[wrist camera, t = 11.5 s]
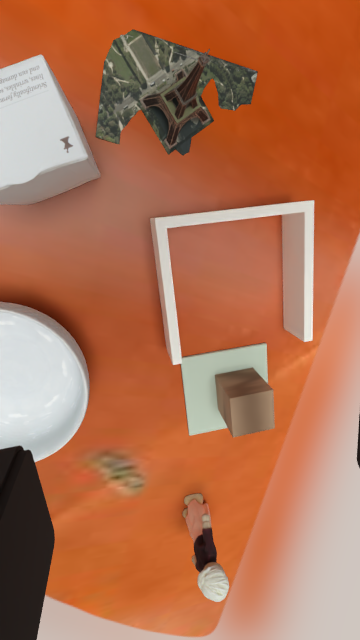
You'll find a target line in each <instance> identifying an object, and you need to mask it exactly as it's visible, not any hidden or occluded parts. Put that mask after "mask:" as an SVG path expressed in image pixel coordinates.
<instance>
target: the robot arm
mask: <svg viewBox="0 0 360 640" xmlns="http://www.w3.org/2000/svg"><path fill="white" fill-rule="evenodd" d="M357 461H358V465H359V467H360V416H359V434H358V449H357ZM54 540H55V537H54V529H53V525H52V521H51V518H50V514H49V511H48V507H47V504H46V500H45V497H44V493H43V490H42V486H41V483H40V480H39V476H38V473H37V469H36V466H35V462H34V459H33V455H32V452H31V451H30V450H24V449H23V447H22V446H20V445H19V446H14V447H9V448H4V449H0V640H36V639H37V634H38V628H39V623H40V617H41V613H42V607H43V602H44V597H45V591H46V586H47V581H48V575H49V570H50V565H51V559H52V554H53V549H54Z"/></svg>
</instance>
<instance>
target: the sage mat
mask: <svg viewBox="0 0 360 640" xmlns="http://www.w3.org/2000/svg"><path fill="white" fill-rule="evenodd" d="M252 367H253V368H254V369H255V370H256V372H257V373H258V374H259V375H260V376H261V377H262V378H263V379H264V380H265V381H266V382H267V384H268V373H267V344H266V343H260V344H254V345H249V346H243V347H237V348H231V349H226V350H220V351H214V352H208V353H202V354H197V355H191V356H185V357H182V363H181V370H182V379H183V387H184V396H185V405H186V413H187V422H188V430H189V436H190V435H195V434H200V433H205V432H209V431H214V430H219V429H224V428H228V427H227V425H226V423H225V421H224V420H223V418H222V416H221V414H220V412H219V410H218V404H217V393H216V383H215V375H216V374H221V373H226V372H231V371H236V370H242V369H247V368H252Z"/></svg>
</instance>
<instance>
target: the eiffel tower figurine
mask: <svg viewBox="0 0 360 640" xmlns="http://www.w3.org/2000/svg"><path fill="white" fill-rule="evenodd" d="M209 51H210V49H209V50H208V52H209ZM208 52H207V53H206V52H205V53H201V52H199V51H196V50H193V49H190V48H187V47H184V46H181V45H178V44H175V43H172V42H169V41H166V40H163V39H160V38H157V37H154V36H151V35H148V34H145V33H142V32H139V31H136V30H131V31H130V32H128V33H127V34H126V35H120V38H117V39H115V40H113V43H112V46H111V48H110V50H109V52H108V54H107V57H106V60H105V61H104V69H103V78H102V86H101V95H100V104H99V113H98V122H97V130H96V137H98V138H101V139H104V140H107V141H110V142H113V143H116V144H119V143H120V133H121V131H122V129H123V128H124V127H125V126H126V125H127V124H128V122H129V121H130V119H131V118H132V117H133V116H134V115H135V114H136V113H137V112H138V110H142V112H143V113H144V115H145V117H146V118H147V120H148V122H149V123H150V125H151V127H152V128H153V130H154V131H155V133H156V135H157V136H158V138H159V140H160V141H161V143H162V145H163V146H164V148H165V150H166V151H167V153H168V154H170V153H171V152H173V151H174V150H175V149H176V150H177V151H178V152H179V153H180V154H182V155H184V154H186V153H188V152H189V150H190V144H191V137H193V136H194V135H196V134H197V133H198V132H200V131H201V130H202V129H204V128H205V127H206V126H208V125H209V124H210V123H212V122H213V121H214V120H213V118H212V116H211V114H210V112H209V111H208V109H207V107H206V105H205V103H204V102H203V100H202V98H201V94H202V92H203V89H204V88H205V86H206V85H207V84H208V82H209V81H210V79H212V78H213V79H214V81H215V84H216V88H217V91H218V99H219V106H220V108H222V109H229V110H236V109H237V108H238V107H239V106H240V105H242V104H251V100H252V96H253V91H254V86H255V82H256V77H257V73H258V72H257V71H255V70H252V69H249V68H246V67H243V66H240V65H237V64H234V63H231V62H228V61H225V60H222V59H219V58H216V57H213V56H210V55H207V54H208Z"/></svg>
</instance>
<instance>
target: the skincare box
mask: <svg viewBox="0 0 360 640" xmlns="http://www.w3.org/2000/svg"><path fill="white" fill-rule="evenodd" d="M100 177H101V175H100V172H99V170H98V167H97V165H96V162H95V160H94V157H93V155H92V152H91V150H90V147H89V145H88V142H87V140H86V138H85V135H84V133H83V130H82V128H81V126H80V123H79V121H78V118H77V116H76V114H75V112H74V110H73V109H72V107H71V105H70V103H69V101H68V100H67V98H66V96H65V94H64V92H63V90H62V89H61V87H60V85H59V83H58V81H57V79H56V77H55V76H54V74H53V72H52V70H51V69H50V67H49V65H48V63H47V62H46V60H45V58H44V57H43V56H42V55H38V56H35V57H32V58H29V59H27V60H24V61H22V62H19V63H16V64H13V65H10V66H7V67H5V68H2V69H0V204H8V205H30V204H34V203H37V202H40V201H43V200H45V199H48V198H51V197H54V196H56V195H59V194H61V193H63V192H66V191H68V190H71V189H73V188H76V187H78V186H80V185H82V184H84V183H86V182H88V181H91V180H94V179H97V178H100Z"/></svg>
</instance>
